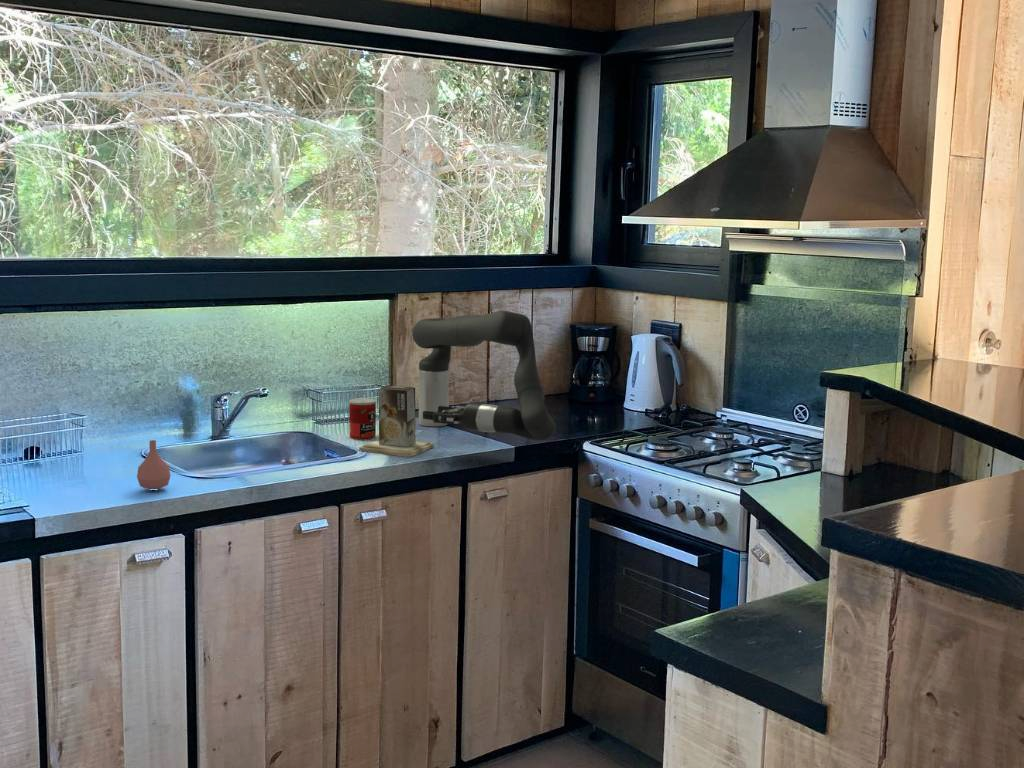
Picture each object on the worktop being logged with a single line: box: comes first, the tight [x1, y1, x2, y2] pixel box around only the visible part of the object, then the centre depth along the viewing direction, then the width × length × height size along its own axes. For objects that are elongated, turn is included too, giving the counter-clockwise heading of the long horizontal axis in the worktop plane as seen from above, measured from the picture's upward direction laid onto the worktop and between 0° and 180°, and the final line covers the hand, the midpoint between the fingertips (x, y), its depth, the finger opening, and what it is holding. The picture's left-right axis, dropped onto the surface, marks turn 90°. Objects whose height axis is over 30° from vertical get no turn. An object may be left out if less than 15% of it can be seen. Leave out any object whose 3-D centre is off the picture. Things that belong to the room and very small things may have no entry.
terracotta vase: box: [136, 439, 172, 490], centre depth 266 cm, size 8×8×12 cm
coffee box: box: [377, 385, 417, 447], centre depth 313 cm, size 9×6×16 cm
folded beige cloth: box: [358, 439, 435, 458], centre depth 315 cm, size 14×16×2 cm
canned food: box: [348, 397, 377, 441], centre depth 329 cm, size 8×8×11 cm
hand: (431, 412), depth 308 cm, fingers open, 8 cm apart
